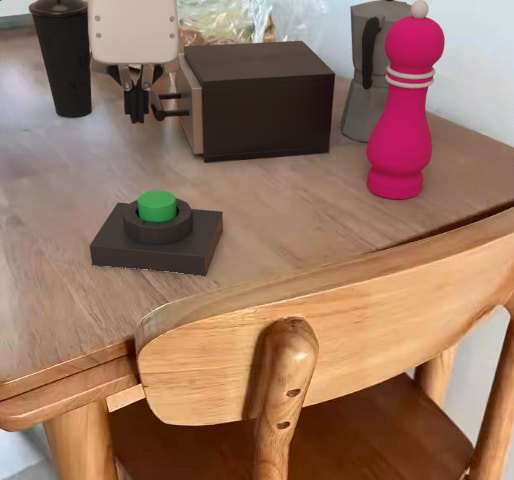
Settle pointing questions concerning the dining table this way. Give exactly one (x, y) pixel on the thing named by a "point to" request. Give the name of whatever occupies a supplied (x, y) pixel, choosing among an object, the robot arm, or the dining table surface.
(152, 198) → the button
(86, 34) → the drinking cup
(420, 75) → the pepper mill
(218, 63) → the cabinet
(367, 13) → the coffeepot
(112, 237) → the control block
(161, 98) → the drawer
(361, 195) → the dining table surface
